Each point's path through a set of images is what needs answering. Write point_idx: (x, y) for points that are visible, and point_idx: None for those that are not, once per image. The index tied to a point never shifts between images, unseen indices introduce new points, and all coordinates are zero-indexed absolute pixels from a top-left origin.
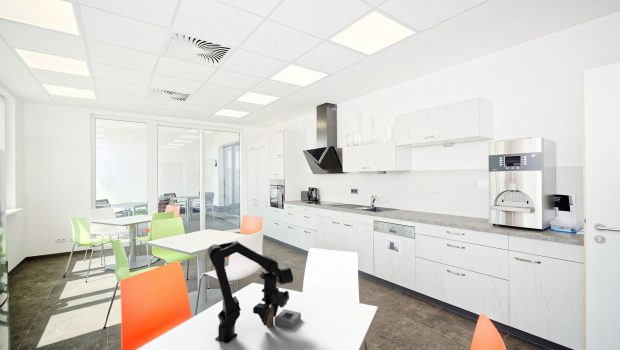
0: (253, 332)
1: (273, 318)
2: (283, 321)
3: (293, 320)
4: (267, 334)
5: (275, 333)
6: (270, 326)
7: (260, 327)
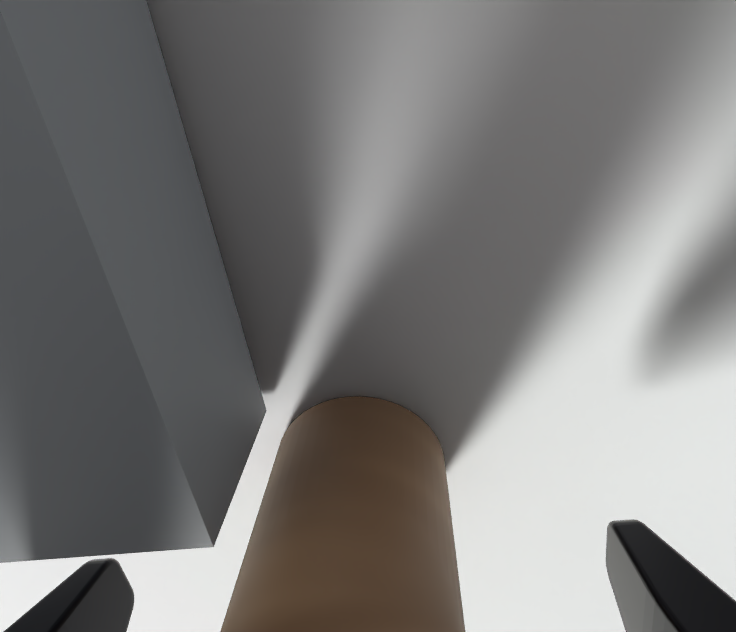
0: (727, 572)
1: (289, 558)
2: (108, 183)
3: None
4: (703, 306)
5: (577, 151)
6: (419, 432)
7: (508, 566)
